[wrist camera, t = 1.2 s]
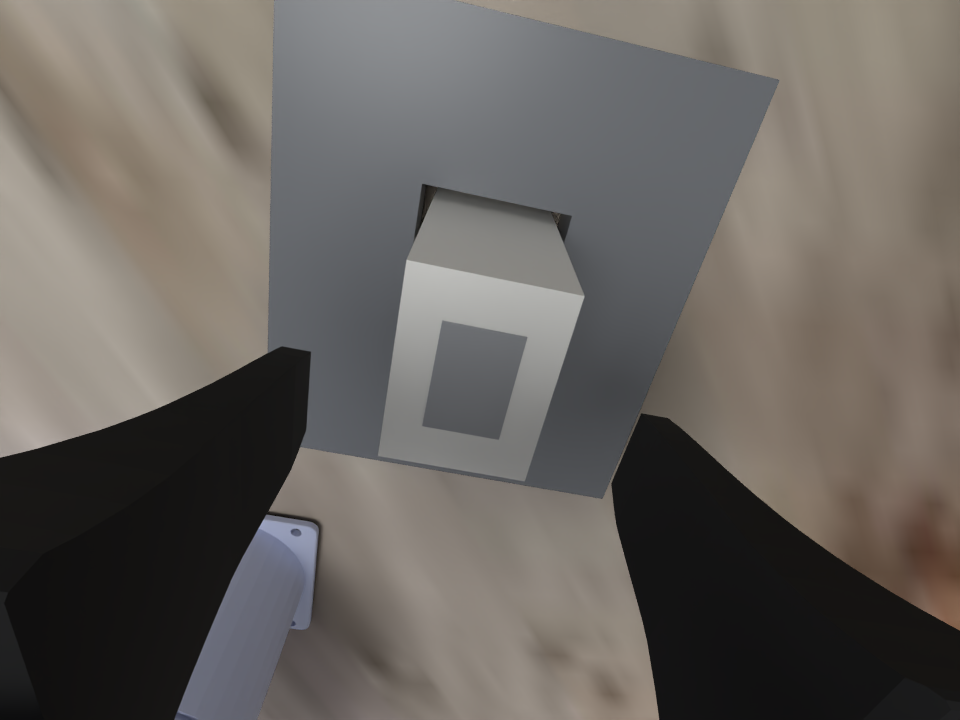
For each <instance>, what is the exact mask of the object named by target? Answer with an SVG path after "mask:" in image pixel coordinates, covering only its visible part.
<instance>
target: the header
mask: <svg viewBox="0 0 960 720" xmlns="http://www.w3.org/2000/svg"><path fill="white" fill-rule="evenodd" d="M778 83H779V80H778V79H774V78H770V77H766V76H761V75H757V74H753V73H749V72H745V71H741V70H737V69H733V68H729V67H725V66H721V65H717V64H712V63H708V62H704V61H700V60H696V59H692V58H688V57H684V56H680V55H676V54H672V53H668V52H664V51H659V50H655V49H651V48H647V47H643V46H639V45H635V44H631V43H627V42H623V41H619V40H615V39H610V38H606V37H602V36H598V35H594V34H590V33H586V32H582V31H578V30H574V29H570V28H566V27H562V26H557V25H553V24H549V23H545V22H541V21H537V20H533V19H529V18H525V17H521V16H517V15H513V14H508V13H504V12H500V11H496V10H492V9H488V8H484V7H480V6H476V5H472V4H468V3H464V2H460V1H455V0H274V35H273V91H272V147H271V203H270V259H269V315H268V353H269V352H271V351H273V350H275V349H277V348H279V347H281V346H284V347H289V348H294V349H300V350H305V351H310V352H311V363H310V379H309V395H308V411H307V428H306V432H305V435H304V438H303V440H302V443H301V446H300V447H304V448H310V449H315V450H321V451H327V452H333V453H339V454H345V455H350V456H356V457H362V458H368V459H374V460H380V461H385V462H391V463H397V464H403V465H409V466H414V467H420V468H426V469H432V470H438V471H444V472H449V473H455V474H461V475H467V476H473V477H479V478H484V479H490V480H496V481H502V482H508V483H513V484H519V485H525V486H531V487H537V488H543V489H548V490H554V491H560V492H566V493H572V494H578V495H583V496H589V497H595V498H601V499H602V498H603V496H604V494H605V491H606V489H607V487H608V484H609V482H610V480H611V477H612V475H613V472H614V470H615V468H616V465H617V463H618V461H619V458H620V456H621V454H622V451H623V449H624V446H625V444H626V442H627V439H628V437H629V435H630V432H631V430H632V428H633V425H634V423H635V420H636V418H637V416H638V413H639V411H640V409H641V406H642V404H643V402H644V399H645V397H646V395H647V392H648V390H649V387H650V385H651V383H652V380H653V378H654V376H655V373H656V371H657V369H658V366H659V364H660V361H661V359H662V357H663V354H664V352H665V350H666V347H667V345H668V343H669V340H670V338H671V335H672V333H673V331H674V328H675V326H676V324H677V321H678V319H679V317H680V314H681V312H682V309H683V307H684V305H685V302H686V300H687V298H688V295H689V293H690V291H691V288H692V286H693V284H694V281H695V279H696V276H697V274H698V272H699V269H700V267H701V265H702V262H703V260H704V258H705V255H706V253H707V250H708V248H709V246H710V243H711V241H712V239H713V236H714V234H715V232H716V229H717V227H718V224H719V222H720V220H721V217H722V215H723V213H724V210H725V208H726V206H727V203H728V201H729V198H730V196H731V194H732V191H733V189H734V187H735V184H736V182H737V180H738V177H739V175H740V173H741V170H742V168H743V165H744V163H745V161H746V158H747V156H748V154H749V151H750V149H751V147H752V144H753V142H754V139H755V137H756V135H757V132H758V130H759V128H760V125H761V123H762V121H763V118H764V116H765V113H766V111H767V109H768V106H769V104H770V102H771V99H772V97H773V95H774V92H775V90H776V87H777V85H778ZM427 185H431V186H435V187H440V188H445V189H449V190H454V191H459V192H463V193H468V194H473V195H477V196H482V197H487V198H491V199H496V200H500V201H505V202H510V203H514V204H519V205H524V206H528V207H533V208H538V209H542V210H547V211H551V212H556V213H561V216H560V220H559V224H558V227H557V228H558V231H559V233H560V236H561V238H562V241H563V243H564V246H565V248H566V251H567V253H568V256H569V258H570V261H571V263H572V266H573V268H574V271H575V273H576V276H577V278H578V281H579V283H580V286H581V288H582V291H583V293H584V296H585V297H584V300H583V303H582V306H581V309H580V312H579V315H578V318H577V321H576V324H575V327H574V331H573V334H572V337H571V340H570V343H569V346H568V349H567V352H566V355H565V358H564V362H563V365H562V368H561V371H560V374H559V377H558V380H557V383H556V386H555V389H554V392H553V396H552V399H551V402H550V405H549V408H548V411H547V414H546V417H545V420H544V423H543V426H542V430H541V433H540V436H539V439H538V442H537V445H536V448H535V451H534V454H533V457H532V461H531V464H530V467H529V470H528V473H527V476H526V479H525V481H519V480H514V479H508V478H502V477H496V476H490V475H485V474H479V473H473V472H467V471H461V470H456V469H450V468H444V467H438V466H433V465H427V464H421V463H415V462H409V461H404V460H398V459H392V458H386V457H380V456H378V452H379V445H380V438H381V431H382V424H383V417H384V411H385V404H386V397H387V390H388V383H389V376H390V370H391V363H392V356H393V349H394V342H395V335H396V328H397V322H398V315H399V308H400V301H401V294H402V287H403V280H404V274H405V267H406V260H407V258H408V255H409V253H410V251H411V248H412V246H413V244H414V241H415V239H416V237H417V234H418V232H419V230H420V225H421V219H422V212H423V206H424V199H425V193H426V186H427Z"/></svg>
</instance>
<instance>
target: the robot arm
mask: <svg viewBox="0 0 960 720" xmlns="http://www.w3.org/2000/svg"><path fill="white" fill-rule="evenodd" d="M310 363H311V352H310V351H305V350H300V349H294V348H289V347H284V346H281V347H279V348H277V349H275V350H273V351H271V352H269V353H267V354H265V355H264V356H262V357H260V358H258V359H256V360H255V361H253V362H251V363H249V364H247V365H245V366H244V367H242V368H240V369H238V370H236V371H234V372H232V373H231V374H229V375H227V376H225V377H223V378H221V379H219V380H217V381H215V382H214V383H212V384H210V385H208V386H205V387H203V388H201V389H199V390H197V391H195V392H193V393H190V394H188V395H186V396H184V397H182V398H180V399H178V400H176V401H173V402H171V403H169V404H167V405H165V406H162V407H160V408H158V409H155V410H153V411H150V412H148V413H145V414H143V415H140V416H138V417H135V418H132V419H130V420H127V421H124V422H121V423H119V424H116V425H113V426H110V427H108V428H105V429H102V430H99V431H95V432H92V433H89V434H85V435H82V436H79V437H75V438H72V439H68V440H65V441H62V442H58V443H55V444H52V445H48V446H45V447H42V448H38V449H34V450H30V451H26V452H22V453H18V454H14V455H10V456H6V457H2V458H0V720H257V719H258V716H259V713H260V711H261V708H262V705H263V702H264V699H265V697H266V694H267V691H268V688H269V685H270V683H271V680H272V677H273V674H274V671H275V668H276V666H277V663H278V660H279V657H280V654H281V652H282V649H283V646H284V643H285V640H286V638H287V635H288V632H289V629H290V628H291V629H298V630H304V629H307V628H308V627H309V625H310V622H311V616H312V605H313V593H314V581H315V570H316V558H317V546H318V535H319V529H318V526H317V525H316V524H314V523H313V522H309V521H303V520H297V519H291V518H285V517H278V516H272V515H266V514H267V513H268V511H269V509H270V507H271V505H272V504H273V502H274V500H275V498H276V496H277V495H278V493H279V491H280V489H281V487H282V485H283V484H284V482H285V480H286V478H287V476H288V474H289V472H290V471H291V468H292V466H293V463H294V461H295V458H296V456H297V453H298V451H299V448H300V446H301V443H302V440H303V438H304V435H305V432H306V428H307V411H308V395H309V379H310ZM611 484H612V493H613V503H614V511H615V518H616V525H617V529H618V533H619V537H620V540H621V544H622V548H623V552H624V555H625V559H626V563H627V566H628V570H629V574H630V577H631V581H632V584H633V588H634V592H635V595H636V599H637V602H638V606H639V610H640V613H641V617H642V621H643V625H644V629H645V634H646V638H647V643H648V649H649V655H650V661H651V667H652V673H653V679H654V685H655V691H656V698H657V705H658V713H659V720H960V631H959V630H957V629H956V628H954V627H952V626H950V625H948V624H946V623H945V622H943V621H941V620H939V619H937V618H936V617H934V616H932V615H930V614H928V613H926V612H925V611H923V610H921V609H919V608H918V607H916V606H914V605H912V604H911V603H909V602H907V601H906V600H904V599H902V598H900V597H899V596H897V595H895V594H894V593H892V592H890V591H889V590H887V589H885V588H884V587H882V586H881V585H879V584H877V583H876V582H874V581H873V580H871V579H870V578H868V577H866V576H865V575H863V574H862V573H860V572H858V571H857V570H855V569H854V568H852V567H851V566H849V565H848V564H846V563H845V562H843V561H842V560H840V559H839V558H837V557H836V556H834V555H833V554H831V553H830V552H828V551H827V550H826V549H824V548H823V547H822V546H820V545H819V544H817V543H816V542H815V541H813V540H812V539H810V538H809V537H808V536H806V535H805V534H804V533H802V532H801V531H799V530H798V529H797V528H795V527H794V526H793V525H792V524H790V523H789V522H788V521H786V520H785V519H784V518H783V517H781V516H780V515H779V514H778V513H776V512H775V511H774V510H773V509H772V508H770V507H769V506H768V505H767V504H765V503H764V502H763V501H762V500H761V499H759V498H758V497H757V496H756V495H755V494H753V493H752V492H751V491H750V490H749V489H748V488H747V487H745V486H744V485H743V484H742V483H741V482H740V481H739V480H737V479H736V478H735V477H734V476H733V475H732V474H731V473H730V472H729V471H727V470H726V469H725V468H724V467H723V466H722V465H721V464H720V463H719V462H718V461H716V460H715V459H714V458H713V457H712V456H711V455H710V454H709V453H708V452H707V451H706V450H704V449H703V448H702V447H701V446H700V445H699V444H698V443H697V442H696V441H695V440H694V439H692V438H691V437H690V436H689V435H688V434H687V433H686V432H684V431H683V430H682V429H681V428H680V427H679V426H677V425H676V424H675V423H674V422H672V421H671V420H670V419H668V418H663V417H658V416H653V415H647V414H642V413H641V416H640V418H639V420H638V423H637V425H636V427H635V430H634V432H633V434H632V437H631V439H630V441H629V444H628V446H627V448H626V451H625V453H624V455H623V458H622V460H621V462H620V465H619V467H618V469H617V472H616V474H615V476H614V479H613V481H612V483H611ZM296 529H299V530H296Z"/></svg>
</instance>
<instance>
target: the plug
mask: <svg viewBox="0 0 960 720" xmlns="http://www.w3.org/2000/svg"><path fill="white" fill-rule="evenodd" d="M584 297H585V296H584V293H583V291H582V288H581V286H580V283H579V281H578V278H577V276H576V273H575V271H574V268H573V266H572V263H571V261H570V258H569V256H568V253H567V251H566V248H565V246H564V243H563V241H562V238H561V236H560V233H559V231H558V228H557V226H556V223H555V221H554V218H553V216H552V213H551V211H547V210H542V209H538V208H533V207H528V206H524V205H519V204H514V203H510V202H505V201H500V200H496V199H491V198H487V197H482V196H477V195H473V194H468V193H463V192H459V191H454V190H449V189H445V188H440V187H438V188H437V191H436V193H435V195H434V197H433V200H432V202H431V204H430V207H429V209H428V211H427V214H426V216H425V218H424V221H423V223H422V225H421V228H420V230H419V232H418V234H417V237H416V239H415V241H414V244H413V246H412V248H411V251H410V253H409V255H408V258H407V260H406V267H405V274H404V280H403V287H402V294H401V301H400V308H399V315H398V322H397V328H396V335H395V342H394V349H393V356H392V363H391V370H390V376H389V383H388V390H387V397H386V404H385V411H384V417H383V424H382V431H381V438H380V445H379V452H378V456H380V457H386V458H392V459H398V460H404V461H409V462H415V463H421V464H427V465H433V466H438V467H444V468H450V469H456V470H461V471H467V472H473V473H479V474H485V475H490V476H496V477H502V478H508V479H514V480H519V481H525V479H526V476H527V473H528V470H529V467H530V464H531V461H532V457H533V454H534V451H535V448H536V445H537V442H538V439H539V436H540V433H541V430H542V426H543V423H544V420H545V417H546V414H547V411H548V408H549V405H550V402H551V399H552V396H553V392H554V389H555V386H556V383H557V380H558V377H559V374H560V371H561V368H562V365H563V362H564V358H565V355H566V352H567V349H568V346H569V343H570V340H571V337H572V334H573V331H574V327H575V324H576V321H577V318H578V315H579V312H580V309H581V306H582V303H583V300H584Z"/></svg>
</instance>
